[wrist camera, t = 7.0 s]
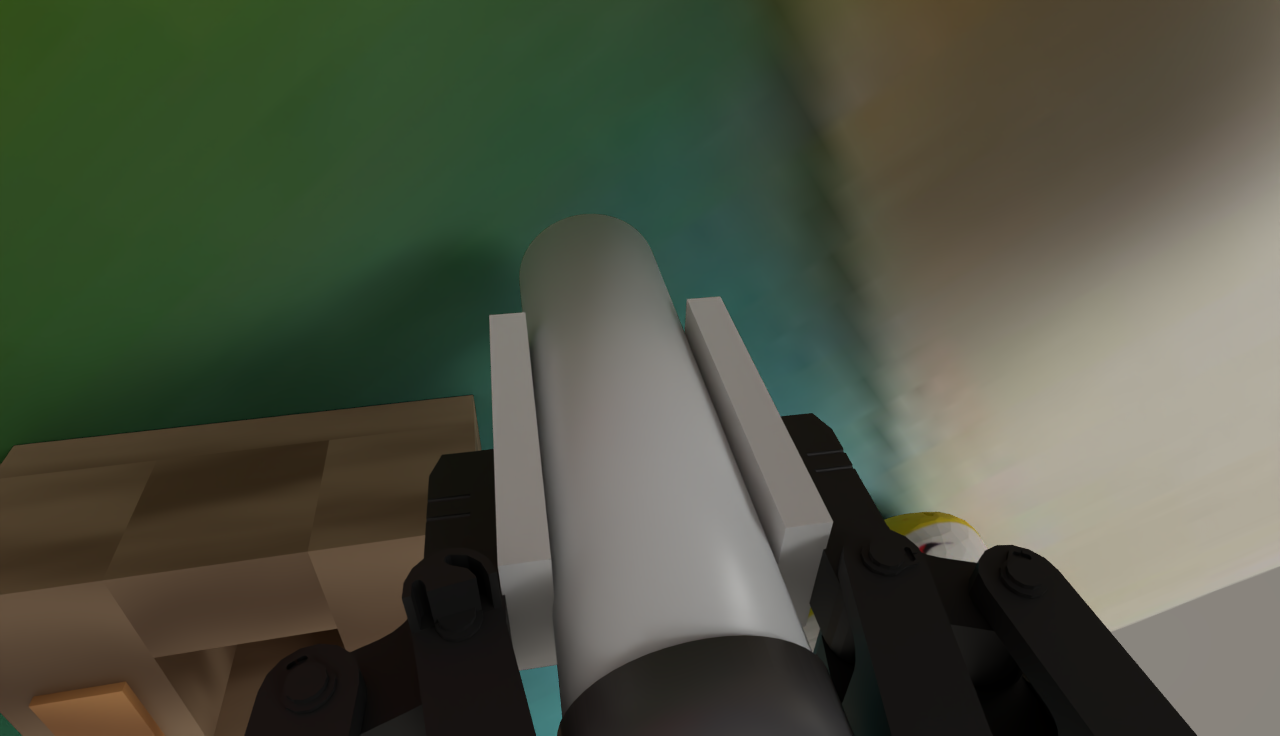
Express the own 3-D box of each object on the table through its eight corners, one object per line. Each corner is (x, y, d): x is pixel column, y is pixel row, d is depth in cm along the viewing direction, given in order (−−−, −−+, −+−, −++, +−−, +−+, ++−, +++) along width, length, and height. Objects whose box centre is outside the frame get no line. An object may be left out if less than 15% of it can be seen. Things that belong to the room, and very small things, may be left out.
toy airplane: (766, 846, 34) (843, 686, 24) (711, 666, 40) (755, 483, 31) (1020, 787, 36) (1182, 621, 27) (931, 627, 43) (1035, 447, 33)
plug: (508, 214, 18) (565, 852, 7) (661, 205, 19) (932, 781, 8) (521, 342, 20) (578, 972, 9) (656, 330, 21) (859, 910, 10)
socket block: (13, 445, 23) (-107, 619, 18) (473, 394, 25) (478, 535, 20) (234, 778, 36) (200, 931, 31) (523, 724, 38) (533, 858, 34)
